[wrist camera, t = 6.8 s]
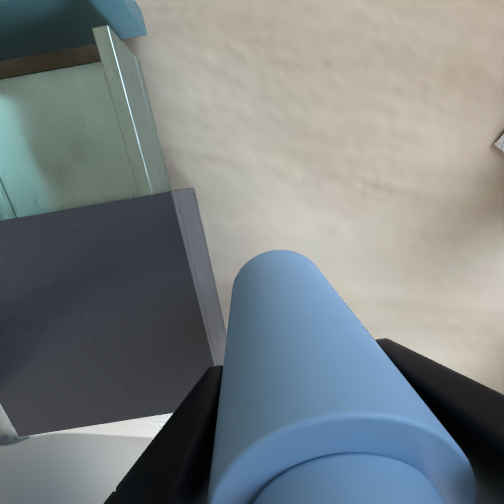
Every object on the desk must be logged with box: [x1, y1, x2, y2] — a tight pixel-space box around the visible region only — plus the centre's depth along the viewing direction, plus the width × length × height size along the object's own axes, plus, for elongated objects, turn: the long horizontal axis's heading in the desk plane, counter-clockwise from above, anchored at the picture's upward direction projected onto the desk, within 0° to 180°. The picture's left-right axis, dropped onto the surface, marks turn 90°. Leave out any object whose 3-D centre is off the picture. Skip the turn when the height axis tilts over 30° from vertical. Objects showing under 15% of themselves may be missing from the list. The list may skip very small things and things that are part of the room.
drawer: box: [0, 0, 172, 221], centre depth 14 cm, size 17×12×4 cm
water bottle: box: [207, 250, 477, 504], centre depth 7 cm, size 4×4×10 cm
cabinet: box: [0, 188, 227, 437], centre depth 18 cm, size 14×14×6 cm
